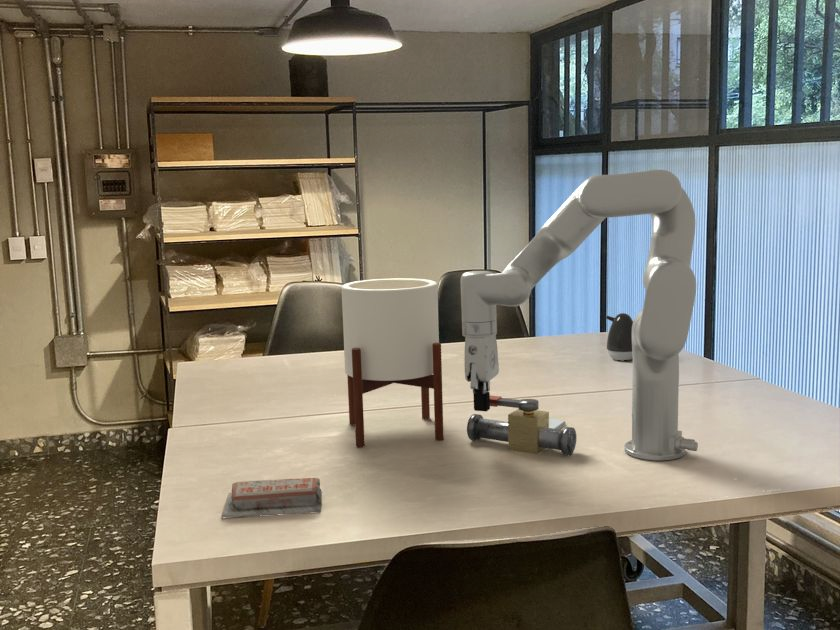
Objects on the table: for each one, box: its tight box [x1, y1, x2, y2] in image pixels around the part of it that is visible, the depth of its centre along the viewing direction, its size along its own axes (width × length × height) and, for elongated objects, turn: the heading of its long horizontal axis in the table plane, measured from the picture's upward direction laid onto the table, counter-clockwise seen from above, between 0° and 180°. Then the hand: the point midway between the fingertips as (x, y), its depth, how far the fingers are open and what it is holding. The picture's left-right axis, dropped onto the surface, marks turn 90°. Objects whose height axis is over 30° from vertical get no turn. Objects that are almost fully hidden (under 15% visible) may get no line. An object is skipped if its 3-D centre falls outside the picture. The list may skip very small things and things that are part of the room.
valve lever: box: [490, 394, 540, 411], centre depth 190 cm, size 14×4×2 cm, turn 61°
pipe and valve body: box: [466, 408, 577, 456], centre depth 189 cm, size 24×6×9 cm, turn 57°
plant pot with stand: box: [340, 277, 444, 448], centre depth 202 cm, size 22×22×36 cm
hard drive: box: [549, 418, 566, 430], centre depth 203 cm, size 2×8×12 cm
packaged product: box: [221, 477, 323, 518], centre depth 159 cm, size 18×5×10 cm
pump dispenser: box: [605, 312, 634, 362], centre depth 275 cm, size 10×10×15 cm
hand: (482, 409), depth 188 cm, fingers closed
